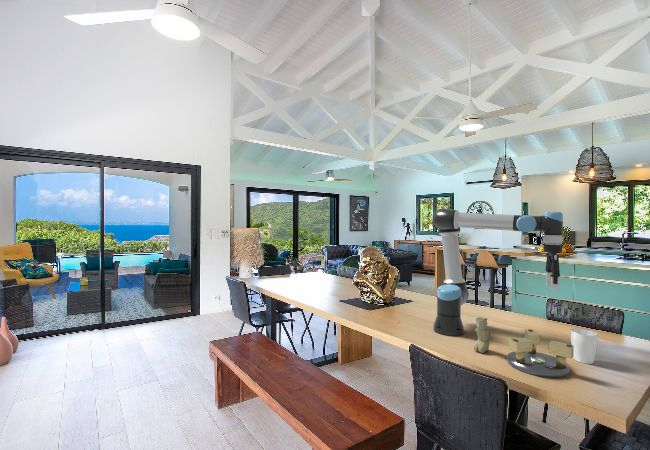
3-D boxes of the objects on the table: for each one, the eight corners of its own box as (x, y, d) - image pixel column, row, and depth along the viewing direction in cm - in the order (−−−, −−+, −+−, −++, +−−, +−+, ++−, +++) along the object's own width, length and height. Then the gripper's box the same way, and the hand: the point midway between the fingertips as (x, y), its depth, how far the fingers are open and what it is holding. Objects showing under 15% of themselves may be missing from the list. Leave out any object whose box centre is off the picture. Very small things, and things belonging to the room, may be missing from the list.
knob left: (523, 359, 138) (524, 337, 138) (531, 363, 134) (532, 340, 134) (508, 360, 136) (509, 338, 136) (516, 364, 132) (516, 341, 132)
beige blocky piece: (539, 356, 141) (540, 334, 140) (528, 355, 142) (529, 333, 142) (534, 350, 147) (535, 329, 147) (524, 349, 148) (524, 328, 148)
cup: (564, 356, 146) (565, 328, 146) (584, 356, 147) (585, 328, 147) (582, 365, 137) (583, 336, 137) (603, 365, 138) (603, 335, 138)
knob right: (548, 365, 132) (549, 342, 132) (551, 362, 135) (552, 339, 135) (570, 371, 127) (571, 347, 127) (573, 368, 130) (573, 344, 130)
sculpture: (471, 350, 153) (471, 317, 152) (480, 347, 156) (481, 314, 156) (483, 355, 148) (483, 320, 147) (492, 351, 152) (493, 317, 151)
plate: (513, 373, 130) (513, 365, 130) (502, 352, 150) (503, 346, 150) (578, 381, 124) (578, 373, 124) (558, 359, 144) (558, 352, 144)
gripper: (568, 246, 151) (567, 294, 151) (556, 242, 174) (555, 284, 174) (548, 245, 154) (547, 292, 154) (539, 242, 177) (538, 283, 177)
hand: (551, 288), depth 164 cm, fingers open, 13 cm apart
